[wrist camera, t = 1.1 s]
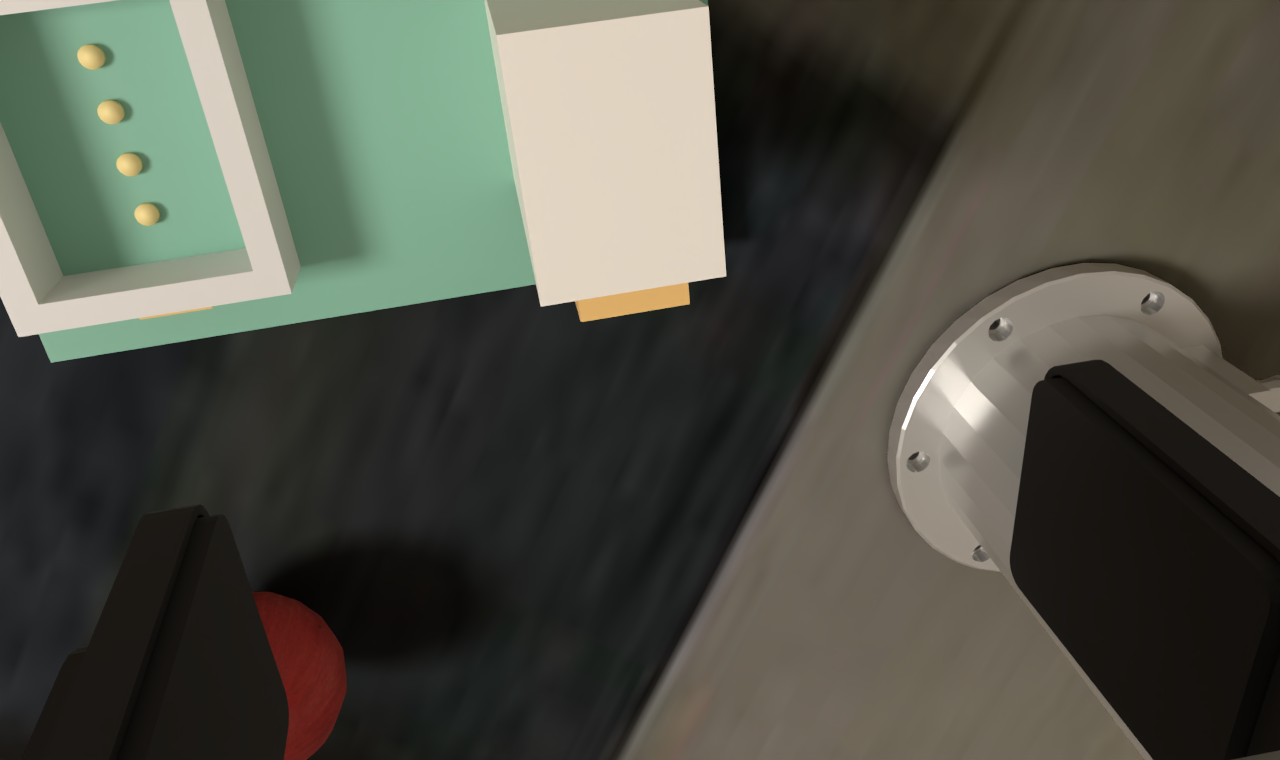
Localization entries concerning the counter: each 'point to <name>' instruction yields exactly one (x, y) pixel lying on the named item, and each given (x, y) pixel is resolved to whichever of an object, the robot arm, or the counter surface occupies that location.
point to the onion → (304, 670)
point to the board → (246, 165)
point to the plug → (612, 148)
